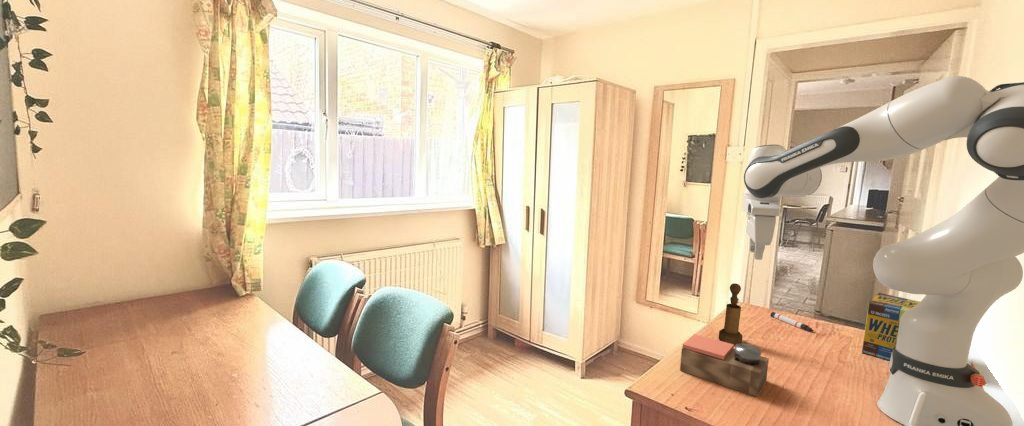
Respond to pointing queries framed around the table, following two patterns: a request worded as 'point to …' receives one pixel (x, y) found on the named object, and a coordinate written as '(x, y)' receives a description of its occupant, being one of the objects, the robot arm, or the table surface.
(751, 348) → the grey domed cylinder
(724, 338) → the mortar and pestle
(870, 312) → the protein box
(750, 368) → the block
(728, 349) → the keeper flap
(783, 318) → the marker
